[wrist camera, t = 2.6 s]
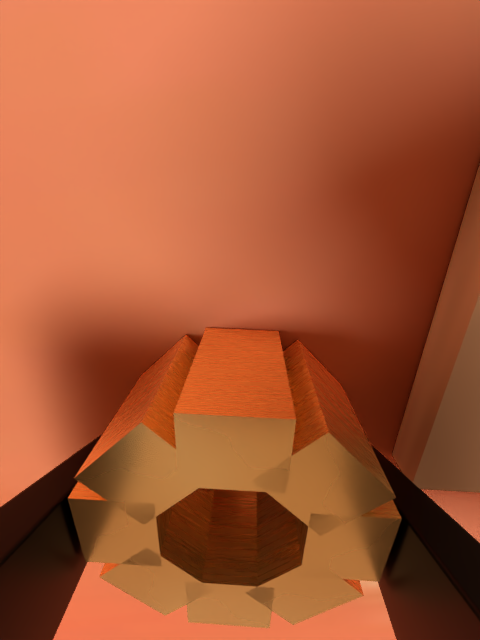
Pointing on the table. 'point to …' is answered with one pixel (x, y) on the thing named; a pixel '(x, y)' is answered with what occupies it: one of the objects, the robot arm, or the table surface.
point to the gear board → (449, 377)
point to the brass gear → (236, 486)
